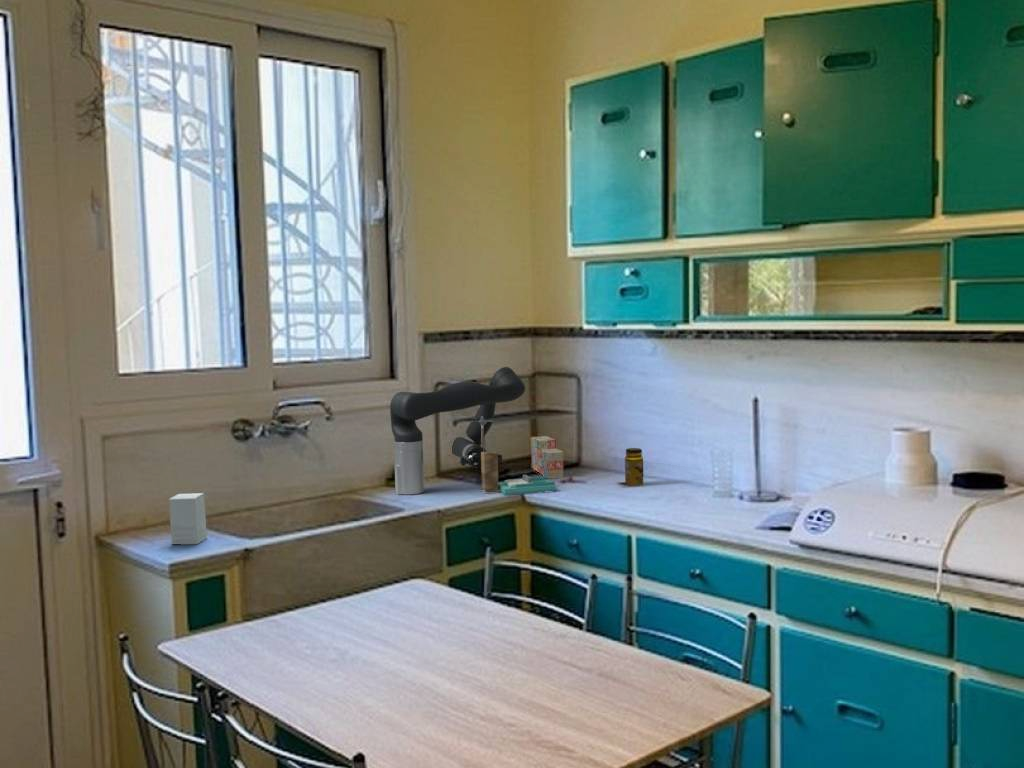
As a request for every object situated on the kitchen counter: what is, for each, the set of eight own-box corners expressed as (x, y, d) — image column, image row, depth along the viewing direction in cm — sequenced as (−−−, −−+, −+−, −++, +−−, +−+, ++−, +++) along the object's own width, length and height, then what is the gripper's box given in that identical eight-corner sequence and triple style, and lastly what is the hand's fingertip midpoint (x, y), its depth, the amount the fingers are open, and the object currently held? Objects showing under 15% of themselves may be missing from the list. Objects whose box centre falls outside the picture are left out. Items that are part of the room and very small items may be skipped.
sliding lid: (510, 487, 326) (510, 479, 326) (504, 482, 334) (504, 475, 334) (532, 485, 328) (532, 478, 328) (526, 481, 336) (526, 474, 335)
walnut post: (485, 493, 328) (483, 453, 327) (482, 490, 332) (480, 451, 331) (498, 492, 329) (497, 453, 328) (495, 489, 333) (494, 451, 332)
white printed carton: (564, 478, 352) (563, 443, 351) (546, 479, 351) (546, 444, 350) (547, 468, 373) (546, 435, 372) (531, 469, 372) (530, 436, 371)
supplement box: (207, 538, 276) (205, 492, 275) (197, 544, 269) (195, 498, 268) (181, 538, 277) (178, 493, 276) (170, 545, 269) (167, 498, 268)
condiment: (647, 486, 333) (646, 450, 332) (622, 487, 332) (621, 451, 331) (641, 482, 340) (640, 446, 339) (616, 483, 339) (616, 448, 338)
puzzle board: (505, 495, 324) (504, 486, 323) (496, 488, 335) (496, 479, 335) (555, 491, 328) (555, 482, 328) (545, 485, 339) (545, 476, 339)
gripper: (494, 464, 356) (506, 471, 340) (455, 467, 352) (464, 474, 337) (494, 443, 355) (505, 449, 340) (454, 446, 352) (464, 452, 336)
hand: (485, 462), depth 338 cm, fingers open, 8 cm apart
